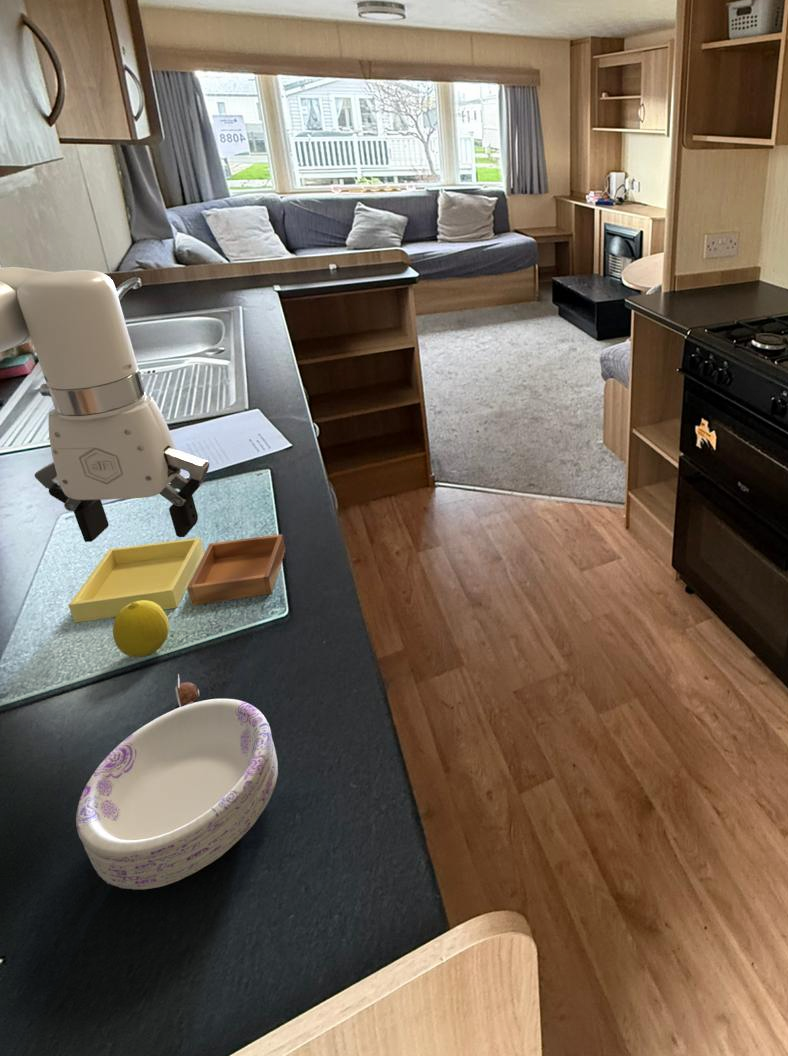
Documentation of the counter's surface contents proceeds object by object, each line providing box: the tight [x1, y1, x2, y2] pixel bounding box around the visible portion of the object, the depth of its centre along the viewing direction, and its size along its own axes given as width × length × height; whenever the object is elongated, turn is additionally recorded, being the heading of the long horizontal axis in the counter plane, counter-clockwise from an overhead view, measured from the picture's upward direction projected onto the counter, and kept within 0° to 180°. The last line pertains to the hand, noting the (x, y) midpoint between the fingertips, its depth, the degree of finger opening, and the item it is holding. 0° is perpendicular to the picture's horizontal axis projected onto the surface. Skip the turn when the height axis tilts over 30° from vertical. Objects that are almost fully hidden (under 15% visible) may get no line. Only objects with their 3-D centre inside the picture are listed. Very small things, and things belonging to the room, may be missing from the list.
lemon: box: [112, 600, 170, 658], centre depth 80 cm, size 6×6×8 cm
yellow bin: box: [68, 537, 205, 624], centre depth 93 cm, size 12×12×3 cm
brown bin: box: [186, 533, 287, 606], centre depth 95 cm, size 10×10×3 cm
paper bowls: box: [75, 698, 279, 891], centre depth 61 cm, size 15×15×8 cm
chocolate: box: [175, 673, 200, 708], centre depth 74 cm, size 3×2×4 cm
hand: (142, 532), depth 73 cm, fingers open, 9 cm apart
